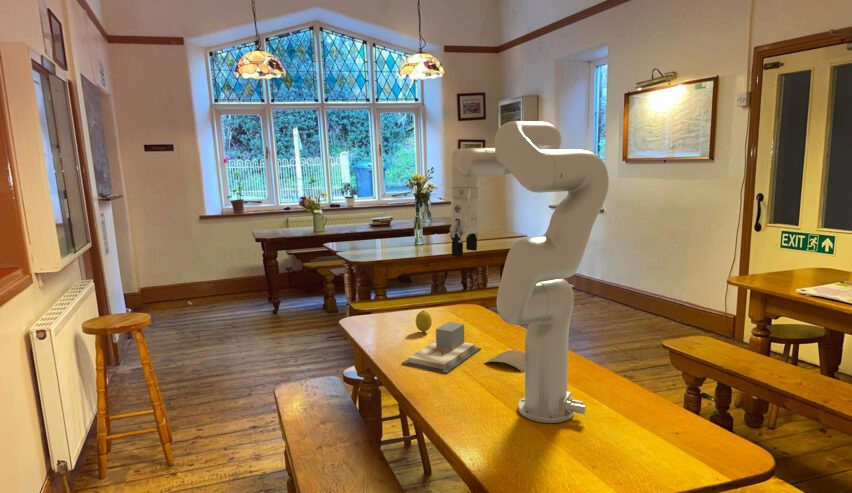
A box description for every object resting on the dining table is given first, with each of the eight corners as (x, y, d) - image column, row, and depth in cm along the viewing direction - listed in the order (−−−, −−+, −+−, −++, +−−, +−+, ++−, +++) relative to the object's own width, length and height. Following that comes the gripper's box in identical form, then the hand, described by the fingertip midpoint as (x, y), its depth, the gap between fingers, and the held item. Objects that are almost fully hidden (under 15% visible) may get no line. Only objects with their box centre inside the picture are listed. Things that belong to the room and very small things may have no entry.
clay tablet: (541, 364, 149) (541, 355, 149) (526, 376, 141) (527, 366, 140) (497, 354, 157) (497, 346, 157) (480, 365, 149) (480, 356, 149)
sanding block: (448, 340, 164) (448, 321, 163) (464, 342, 161) (464, 324, 160) (436, 347, 157) (435, 328, 156) (452, 350, 154) (451, 331, 153)
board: (439, 341, 168) (439, 336, 168) (481, 349, 160) (480, 343, 160) (401, 364, 150) (401, 357, 149) (446, 374, 142) (446, 367, 142)
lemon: (413, 334, 176) (413, 311, 175) (418, 329, 182) (418, 307, 180) (429, 335, 175) (428, 312, 174) (433, 330, 180) (433, 308, 179)
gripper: (464, 196, 136) (463, 260, 139) (489, 191, 151) (488, 249, 154) (439, 195, 139) (439, 257, 142) (465, 190, 154) (465, 247, 157)
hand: (464, 253), depth 148 cm, fingers open, 9 cm apart
